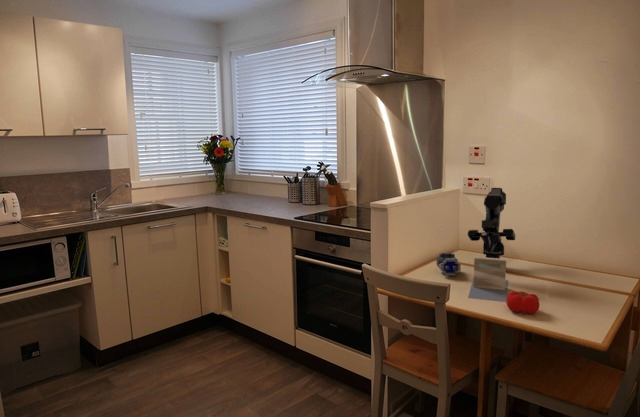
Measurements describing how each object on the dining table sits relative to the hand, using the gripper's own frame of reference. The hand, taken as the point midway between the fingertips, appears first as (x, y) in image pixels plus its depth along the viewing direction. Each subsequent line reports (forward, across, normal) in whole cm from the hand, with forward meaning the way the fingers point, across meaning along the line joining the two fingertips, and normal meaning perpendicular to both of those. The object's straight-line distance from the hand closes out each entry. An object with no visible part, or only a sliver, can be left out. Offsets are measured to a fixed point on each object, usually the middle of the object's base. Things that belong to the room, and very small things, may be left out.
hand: (489, 252), depth 199 cm
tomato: (+30, +17, -14) cm, 37 cm away
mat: (+17, +1, -1) cm, 17 cm away
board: (+16, +1, 0) cm, 16 cm away
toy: (+7, -20, +8) cm, 22 cm away
